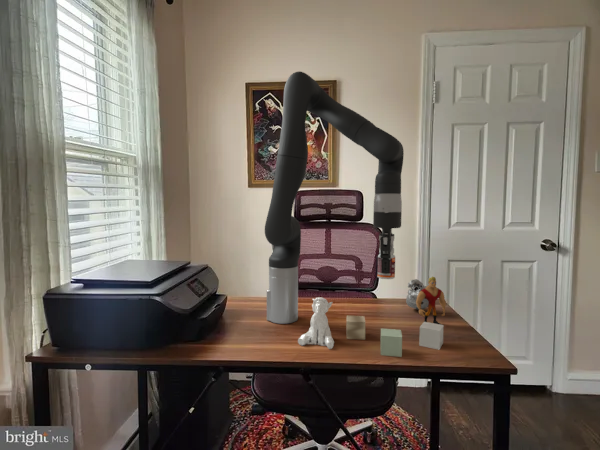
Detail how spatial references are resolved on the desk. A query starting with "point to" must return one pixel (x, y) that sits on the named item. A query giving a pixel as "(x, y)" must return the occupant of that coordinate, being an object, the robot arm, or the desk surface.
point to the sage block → (391, 342)
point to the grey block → (431, 335)
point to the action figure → (431, 299)
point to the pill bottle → (392, 266)
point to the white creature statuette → (318, 325)
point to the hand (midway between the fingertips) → (386, 271)
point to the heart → (415, 294)
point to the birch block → (355, 327)
